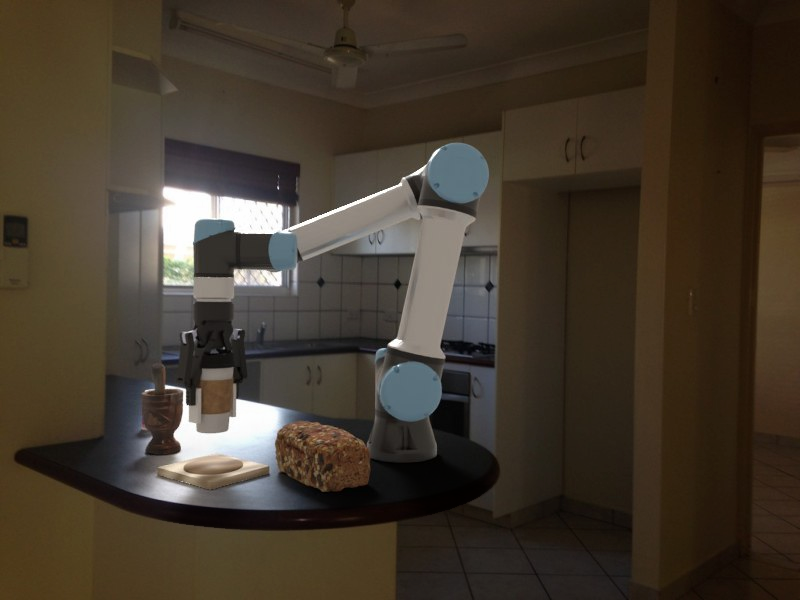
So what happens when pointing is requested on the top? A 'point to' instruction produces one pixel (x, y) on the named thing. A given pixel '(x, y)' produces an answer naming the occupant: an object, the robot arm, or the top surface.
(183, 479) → the board
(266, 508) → the top surface
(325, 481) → the bread
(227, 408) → the coffee cup
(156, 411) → the mortar and pestle
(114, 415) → the top surface
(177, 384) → the robot arm
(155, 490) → the top surface
